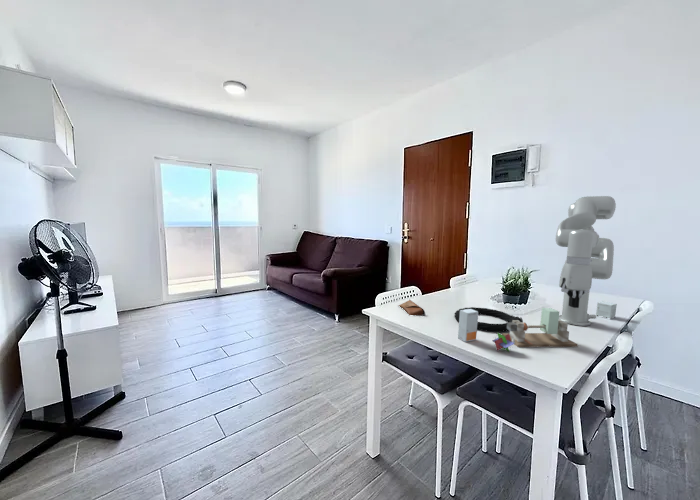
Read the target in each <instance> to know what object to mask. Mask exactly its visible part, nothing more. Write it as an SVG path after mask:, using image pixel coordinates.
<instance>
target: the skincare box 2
mask: <svg viewBox="0 0 700 500" xmlns="http://www.w3.org/2000/svg"><path fill="white" fill-rule="evenodd" d="M617 306H618V304H617V303H613V302H609V301H605V300H601V301H598V302H597V303H596V313H595V315H598V316H597V317H599V316H603V317H607V318H612V319H614V318H613V317H616V312H617ZM603 317H602V318H603ZM607 318H606V319H607Z"/></svg>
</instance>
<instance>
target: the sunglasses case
mask: <svg viewBox="0 0 700 500" xmlns="http://www.w3.org/2000/svg"><path fill="white" fill-rule="evenodd" d="M399 306H400V307H401V308H400V307H399ZM398 307H399V308H400V309H402V308H403V309H404V310H405V311H406V312H407V313H406V312H405V311H404V310H403V309H402V310H403V311H404V312H405V313H406V314H407V315H408V314H409V315H416V316H425V313H426V312H425V310H424V308H423V307H421V306H419V304H417V303H416V302H413V301H412V300H411V299H409V300H407V301H404V302H402V303H401V304H399V305H398ZM409 315H408V316H409Z"/></svg>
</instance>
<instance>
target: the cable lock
mask: <svg viewBox="0 0 700 500" xmlns="http://www.w3.org/2000/svg"><path fill="white" fill-rule="evenodd" d="M465 309H473V310H475V311H478V315H482V316H489V317H490V316H491V317H493V318H498V319H500V320H502V321H506V323H489V322H484V321H483V322H482V321H478V322H477V331H478V330H479V331H483V332H484V331H485V332H493V333H494V332H495V333H497V332H498V333H506V332H510V330H508V329H507V322H512V320H519V321H520V322H522V323H524V320H523V318H522V317H521V316H520V317H519V316H515V315H513V314H508V313H507V312H505V311H502V310H497V309H491V308H485V307H475V306H474V307H473V306H472V307H464V308H459V309H457V310H456V311H455V312H454V318H455V320H456V321H457V322H458V323H459V316H460V310H465Z"/></svg>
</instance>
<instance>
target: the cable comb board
mask: <svg viewBox="0 0 700 500" xmlns="http://www.w3.org/2000/svg"><path fill="white" fill-rule="evenodd" d="M506 323H507V329H508V330H510V331H509V332H507V333H506V332H501V335H504V336H505V335H506V334H508V333H509V334H510V335H511V336H512V337H513V338H514V340H515V344H513V345H514V346H515V347H517V348H553V347H555V348H564V347H565V348H567V347H569V348H571V347H573V348H574V347H577V348H578V345H579V344H578V343H576V342H574V341H572V340H570V339H569V338H570V331H568V323H566V322H563V321H561V320H559V321H558V331H557V334H547V333H545V332H543V333H541V332H537V333H536V332H534V333H533V332H529V333H528V332H527V333H526V331H528V329H540V328H546V325H540V324H539V325H534V324H533V325H532V324H531V325H529V324H527V323H526V322H523V323H522V322H520V321H519V320H512V322H507V321H506ZM511 336H510V338H511V342H512V337H511Z"/></svg>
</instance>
